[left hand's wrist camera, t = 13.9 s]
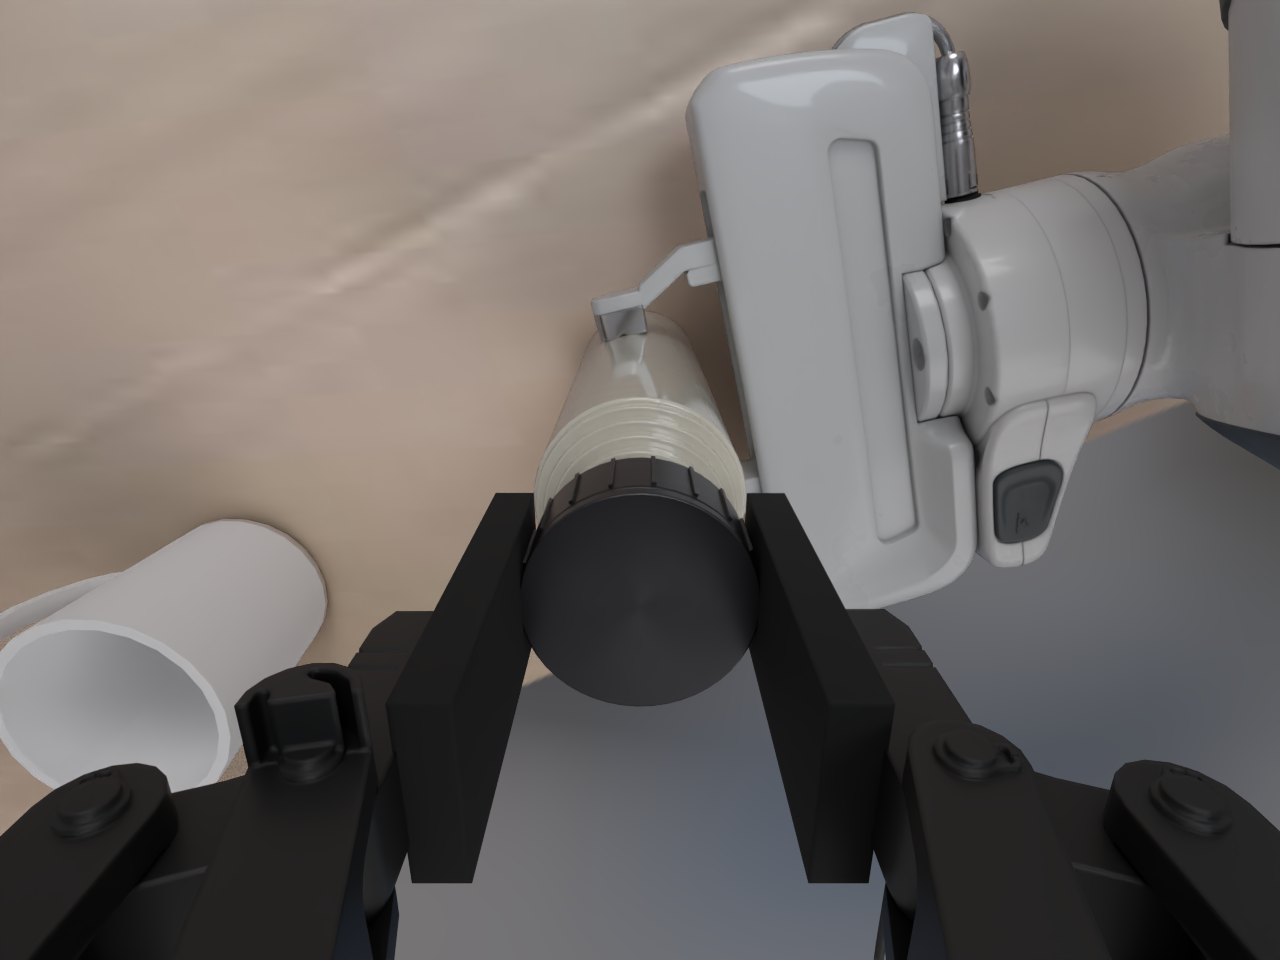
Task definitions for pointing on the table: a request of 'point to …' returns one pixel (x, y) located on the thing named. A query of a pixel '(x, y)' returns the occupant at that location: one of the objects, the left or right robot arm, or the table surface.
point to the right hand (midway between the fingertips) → (617, 406)
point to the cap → (640, 583)
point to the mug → (157, 655)
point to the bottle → (640, 414)
